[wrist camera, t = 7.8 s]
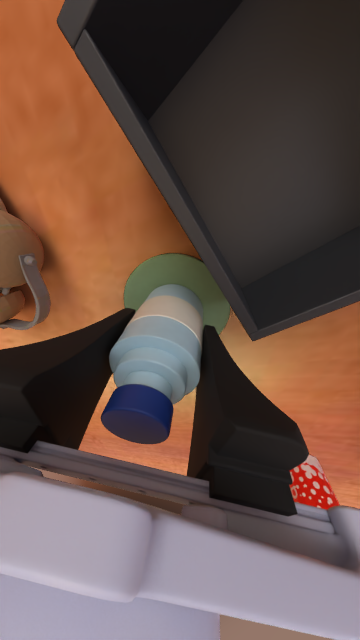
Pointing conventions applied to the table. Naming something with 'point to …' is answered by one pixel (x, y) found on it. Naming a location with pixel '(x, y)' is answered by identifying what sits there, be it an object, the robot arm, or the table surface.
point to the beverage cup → (312, 485)
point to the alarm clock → (20, 271)
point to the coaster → (180, 273)
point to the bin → (243, 137)
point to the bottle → (155, 365)
